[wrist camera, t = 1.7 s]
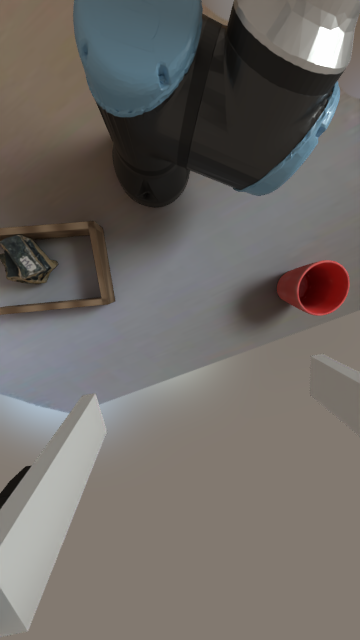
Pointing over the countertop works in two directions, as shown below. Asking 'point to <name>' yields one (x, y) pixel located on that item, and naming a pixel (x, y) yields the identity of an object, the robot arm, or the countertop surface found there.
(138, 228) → the countertop surface
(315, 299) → the flower pot
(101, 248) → the cubby
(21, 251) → the rock
